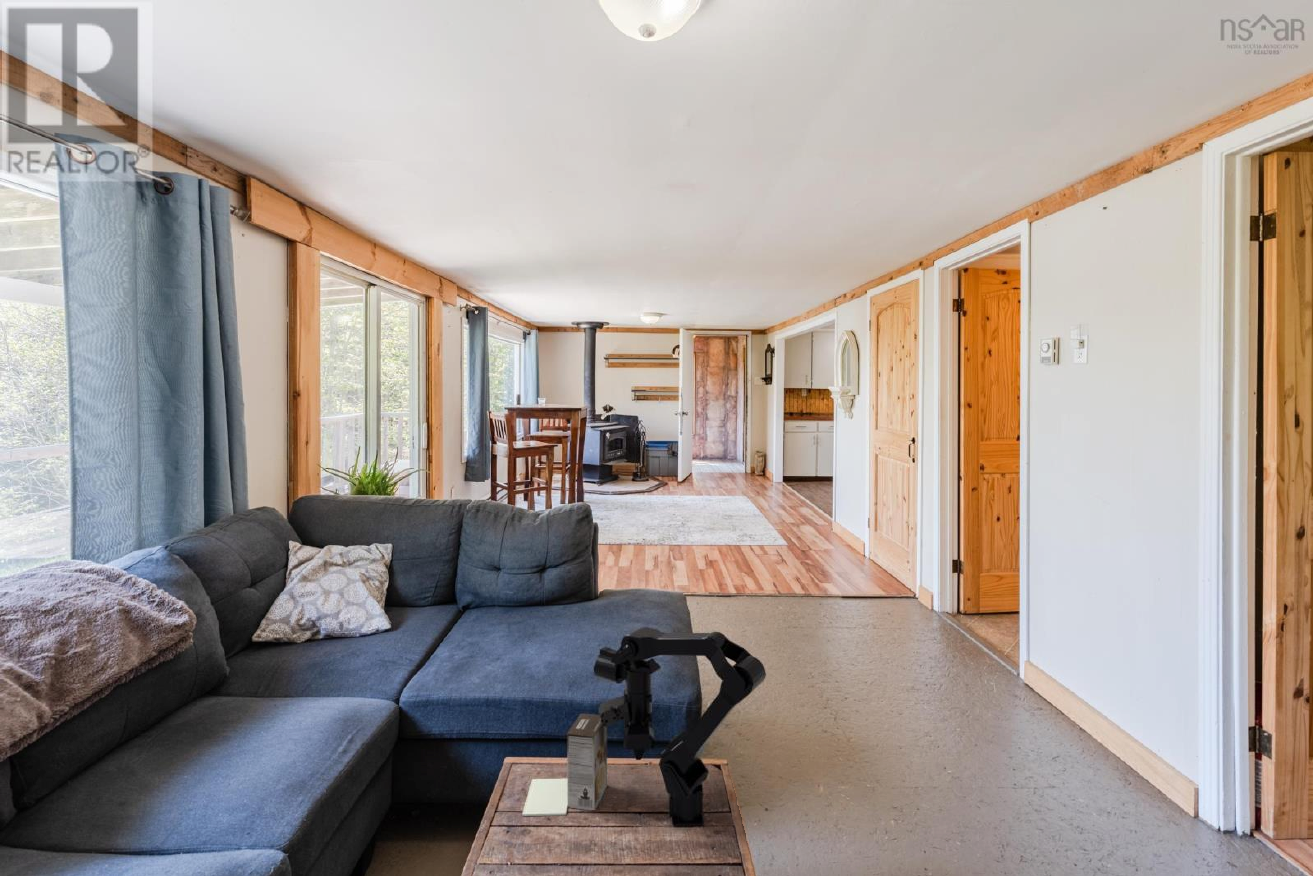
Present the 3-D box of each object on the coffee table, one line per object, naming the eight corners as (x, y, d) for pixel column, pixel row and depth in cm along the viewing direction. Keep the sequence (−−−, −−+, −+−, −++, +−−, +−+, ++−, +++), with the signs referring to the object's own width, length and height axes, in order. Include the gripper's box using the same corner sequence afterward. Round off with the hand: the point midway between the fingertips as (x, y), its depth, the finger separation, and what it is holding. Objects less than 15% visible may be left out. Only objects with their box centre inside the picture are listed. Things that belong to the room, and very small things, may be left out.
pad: (572, 780, 133) (572, 778, 133) (565, 815, 121) (565, 813, 121) (532, 781, 133) (532, 779, 133) (522, 816, 121) (522, 814, 121)
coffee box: (580, 782, 133) (580, 712, 132) (607, 785, 131) (608, 714, 131) (566, 808, 124) (566, 733, 123) (595, 812, 122) (595, 736, 122)
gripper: (603, 670, 136) (603, 737, 137) (598, 709, 118) (598, 786, 118) (651, 670, 137) (651, 736, 137) (654, 708, 118) (654, 785, 118)
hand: (638, 759), depth 128 cm, fingers closed
